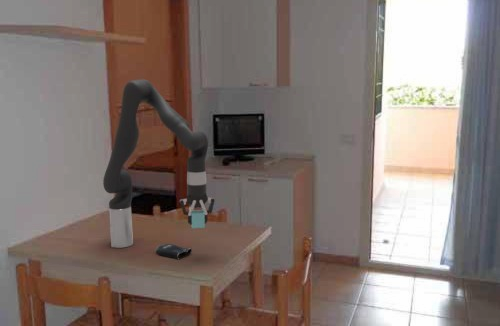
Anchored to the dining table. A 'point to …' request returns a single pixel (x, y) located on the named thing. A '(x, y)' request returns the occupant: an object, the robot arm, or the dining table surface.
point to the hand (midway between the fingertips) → (197, 223)
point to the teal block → (198, 219)
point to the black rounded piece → (172, 250)
